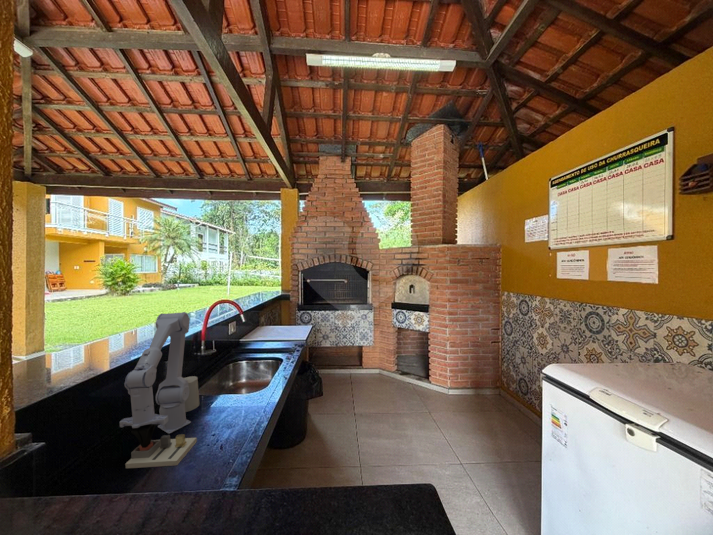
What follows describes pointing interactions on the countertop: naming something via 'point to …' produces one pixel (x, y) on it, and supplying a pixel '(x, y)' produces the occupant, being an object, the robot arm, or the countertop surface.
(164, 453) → the panel
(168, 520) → the countertop surface
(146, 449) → the red button
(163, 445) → the grey slider knob
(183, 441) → the yellow slider knob
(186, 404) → the cup
